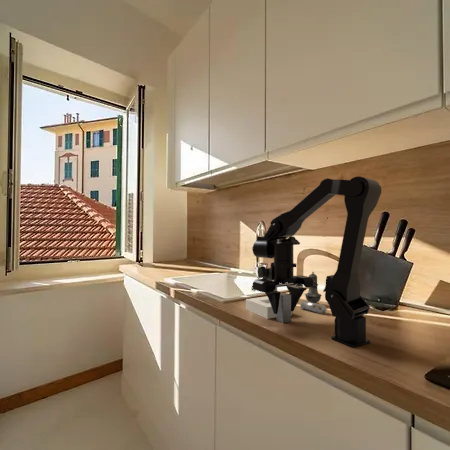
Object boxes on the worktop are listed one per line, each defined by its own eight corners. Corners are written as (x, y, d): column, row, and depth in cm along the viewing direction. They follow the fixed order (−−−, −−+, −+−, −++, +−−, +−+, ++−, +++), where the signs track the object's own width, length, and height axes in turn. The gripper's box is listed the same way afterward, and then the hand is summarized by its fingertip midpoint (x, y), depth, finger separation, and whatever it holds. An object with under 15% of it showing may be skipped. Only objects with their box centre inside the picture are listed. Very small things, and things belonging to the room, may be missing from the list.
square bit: (291, 321, 86) (290, 294, 87) (283, 323, 85) (283, 295, 85) (284, 319, 89) (284, 292, 89) (276, 320, 88) (276, 293, 88)
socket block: (292, 314, 94) (292, 303, 94) (267, 318, 89) (267, 307, 89) (269, 305, 104) (269, 296, 105) (245, 309, 100) (245, 299, 100)
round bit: (321, 304, 94) (320, 313, 94) (327, 305, 96) (325, 314, 95) (301, 299, 101) (299, 308, 100) (306, 301, 102) (304, 309, 102)
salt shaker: (316, 307, 102) (316, 273, 102) (301, 304, 106) (301, 271, 107) (324, 304, 106) (324, 271, 107) (309, 301, 111) (309, 269, 111)
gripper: (289, 256, 99) (289, 302, 99) (242, 258, 90) (242, 310, 90) (314, 259, 89) (314, 310, 89) (264, 262, 80) (264, 319, 80)
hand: (283, 312), depth 87 cm, fingers open, 6 cm apart
